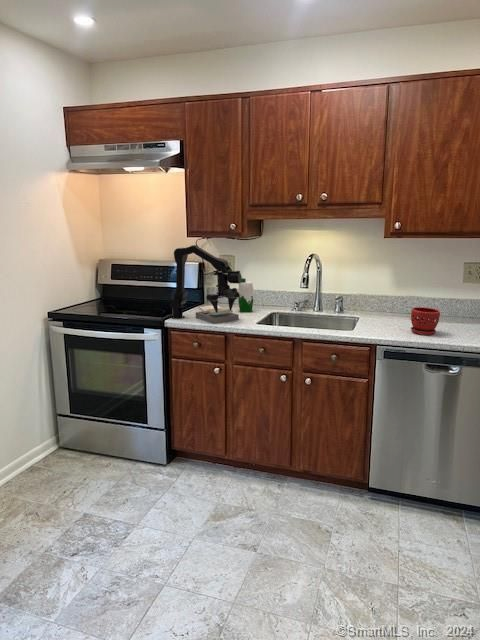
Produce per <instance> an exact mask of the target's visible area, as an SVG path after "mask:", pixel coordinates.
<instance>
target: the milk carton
mask: <svg viewBox="0 0 480 640" xmlns="http://www.w3.org/2000/svg"><path fill="white" fill-rule="evenodd" d="M253 286H254V285H253V281H252V280H251V281H248V280H246V278H244V277H242V281H241V283H238V289H237V292H239V295H240V297H237V298H238V308H239V309H238V310H239V312H240V313H253V306H254V287H253Z"/></svg>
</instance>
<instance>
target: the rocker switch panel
mask: <svg viewBox="0 0 480 640" xmlns="http://www.w3.org/2000/svg"><path fill="white" fill-rule="evenodd" d="M239 316H240V314H238V313H234V312H231V313H225V314H218V315H212V314H210V313H209V312H208V313H204V312H202V311H195V318H196V319H199V320H202V321H206V322H208V323H211V324H213V325H214V324H222V323H228V322H233V321H234V322H235V321H239V319H240V317H239Z"/></svg>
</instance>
